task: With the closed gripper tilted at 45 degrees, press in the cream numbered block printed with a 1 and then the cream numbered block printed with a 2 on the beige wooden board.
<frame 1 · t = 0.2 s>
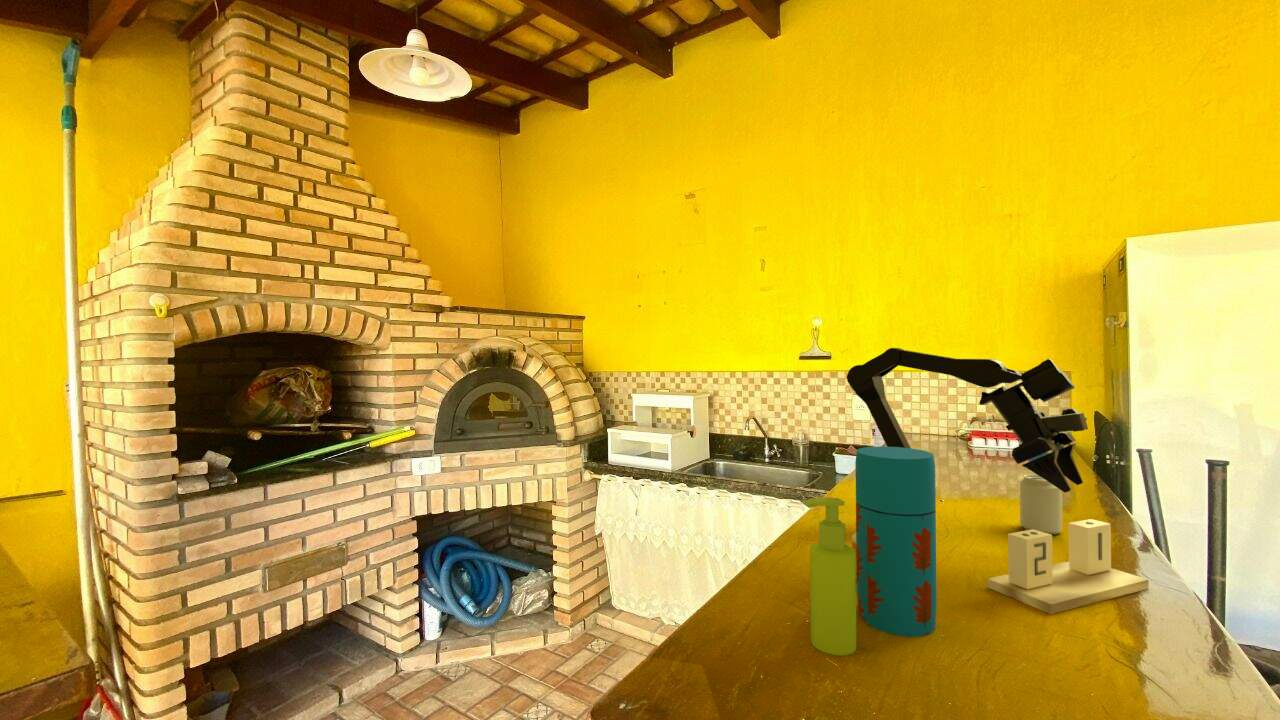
hand: (1074, 487, 99), 14 cm above the countertop, tool tilted 35°, fingers open, 9 cm apart
cream numbered block 1: (1090, 546, 93), point 6 cm above the countertop, slide at 0.0 cm
can: (1040, 531, 118), on the countertop
soap dispenser: (829, 645, 73), on the countertop
beige wooden board: (1067, 588, 89), on the countertop
supplement bottle: (868, 578, 95), on the countertop
thermos: (896, 619, 80), on the countertop
cream numbered block 2: (1030, 558, 88), point 6 cm above the countertop, slide at 0.0 cm
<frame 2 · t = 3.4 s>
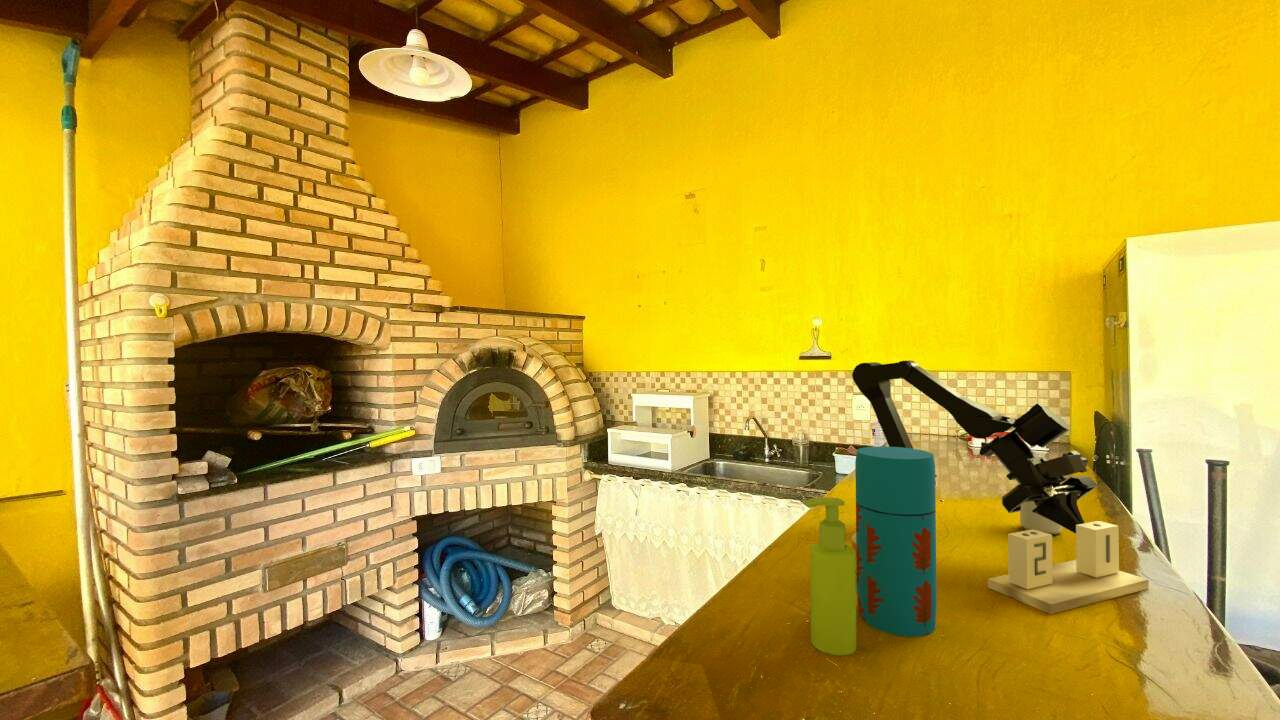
hand: (1086, 535, 93), 7 cm above the countertop, tool tilted 45°, fingers closed, pressing on cream numbered block 1
cream numbered block 1: (1098, 548, 91), point 6 cm above the countertop, slide at 1.2 cm, touching gripper
everything else where it was.
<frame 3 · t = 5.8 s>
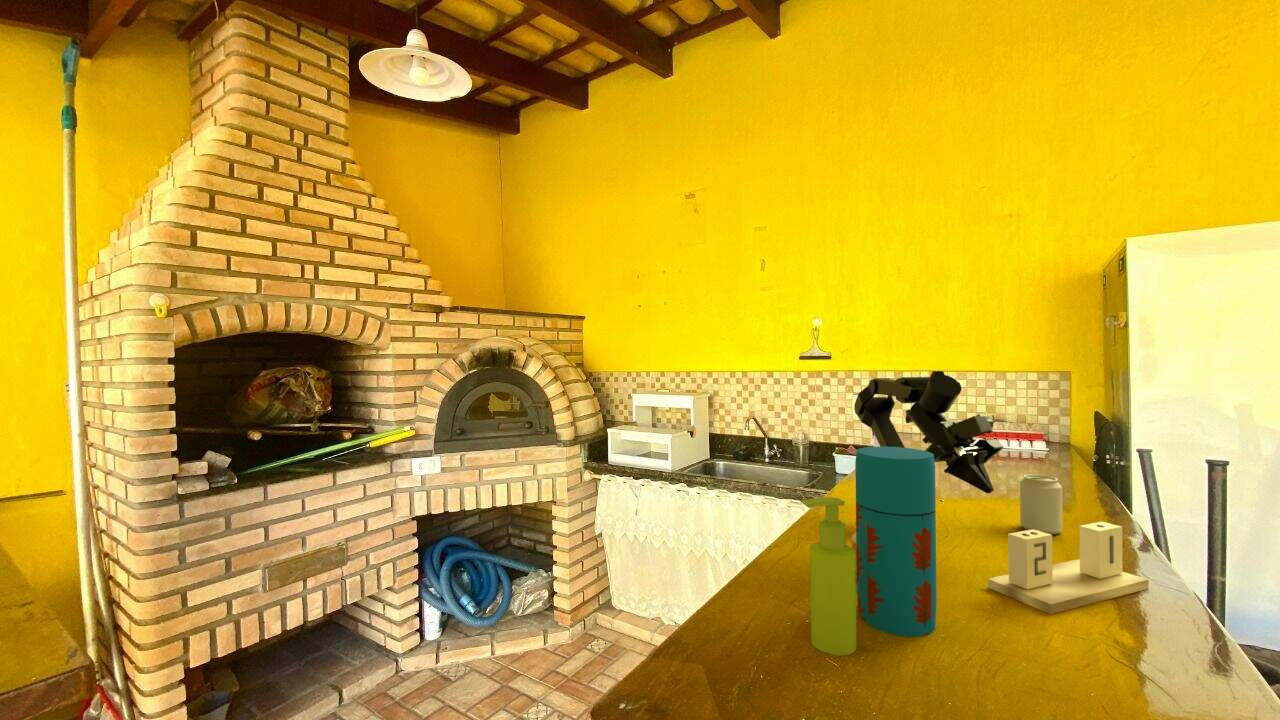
hand: (990, 492, 99), 14 cm above the countertop, tool tilted 45°, fingers closed
cream numbered block 1: (1101, 549, 91), point 6 cm above the countertop, slide at 1.7 cm
everything else where it was.
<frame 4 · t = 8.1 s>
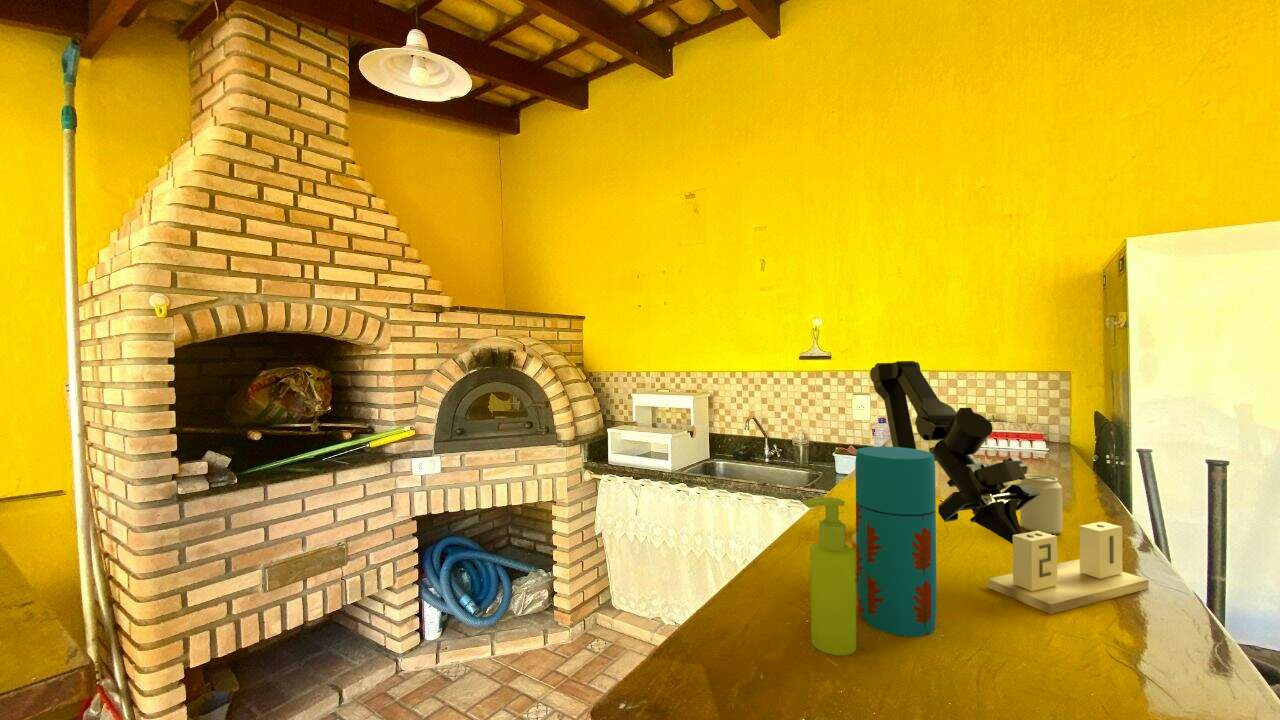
hand: (1023, 546, 89), 7 cm above the countertop, tool tilted 45°, fingers closed, pressing on cream numbered block 2
cream numbered block 2: (1035, 560, 87), point 6 cm above the countertop, slide at 0.8 cm, touching gripper
everything else where it was.
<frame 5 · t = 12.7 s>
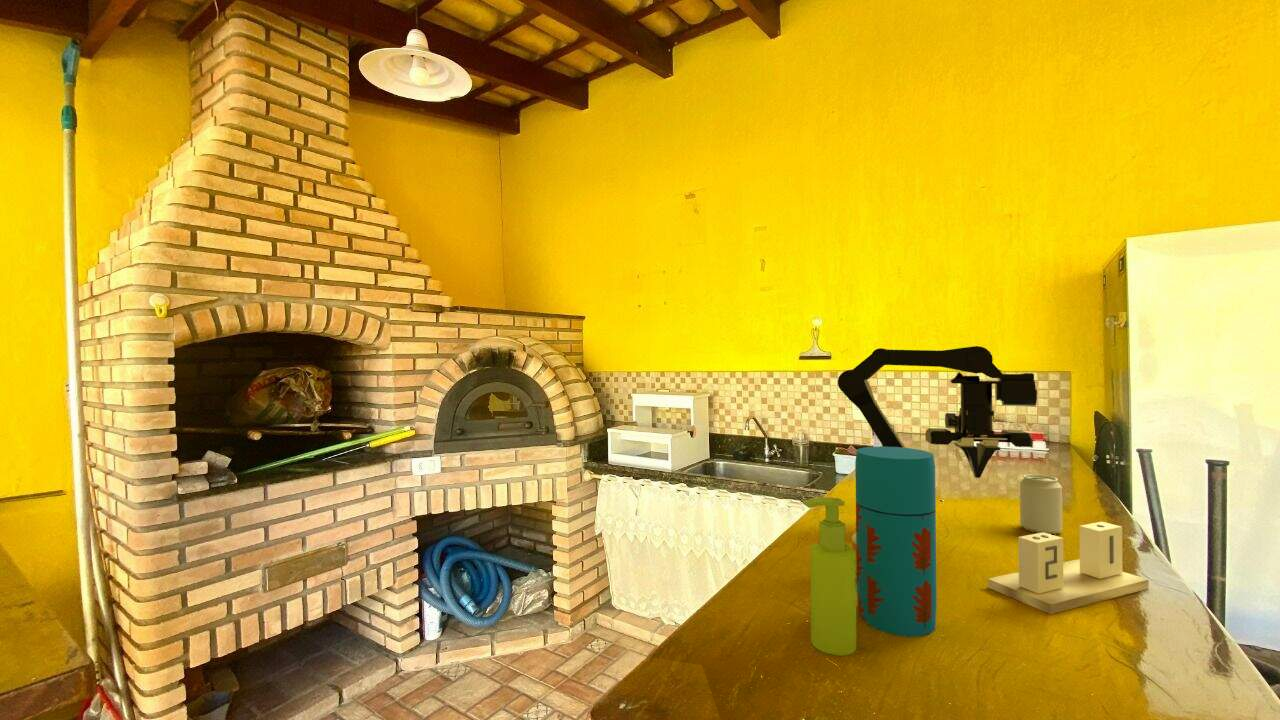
hand: (977, 477, 114), 13 cm above the countertop, tool pointing down, fingers closed
cream numbered block 2: (1041, 562, 86), point 6 cm above the countertop, slide at 1.7 cm
everything else where it was.
at the end: cream numbered block 1 slide at 1.7 cm; cream numbered block 2 slide at 1.7 cm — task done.
